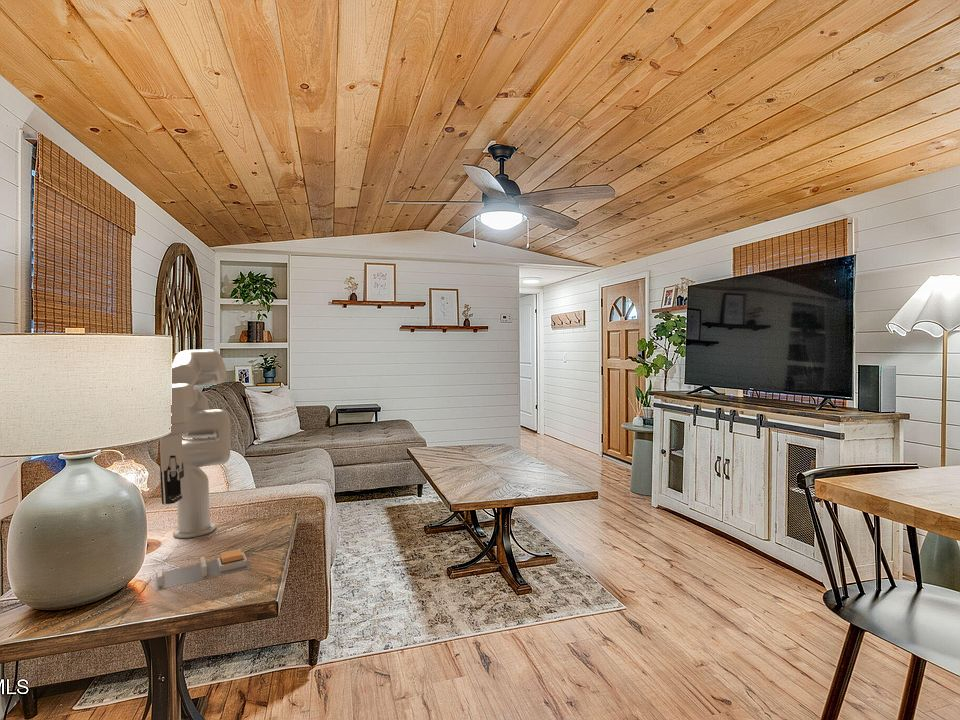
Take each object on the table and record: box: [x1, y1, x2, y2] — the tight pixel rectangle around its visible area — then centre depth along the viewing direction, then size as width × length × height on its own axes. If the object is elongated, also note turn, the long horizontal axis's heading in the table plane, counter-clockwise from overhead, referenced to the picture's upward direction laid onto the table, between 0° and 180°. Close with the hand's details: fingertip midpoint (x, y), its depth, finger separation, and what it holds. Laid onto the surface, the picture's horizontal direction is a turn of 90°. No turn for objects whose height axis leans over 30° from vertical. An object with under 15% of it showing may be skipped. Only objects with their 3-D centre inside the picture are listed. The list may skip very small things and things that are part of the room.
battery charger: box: [159, 461, 184, 505], centre depth 144 cm, size 7×4×11 cm, turn 7°
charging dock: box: [155, 551, 252, 591], centre depth 139 cm, size 12×22×4 cm, turn 122°
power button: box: [220, 548, 243, 563], centre depth 142 cm, size 5×5×1 cm
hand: (173, 491), depth 145 cm, fingers closed on battery charger, 7 cm apart
